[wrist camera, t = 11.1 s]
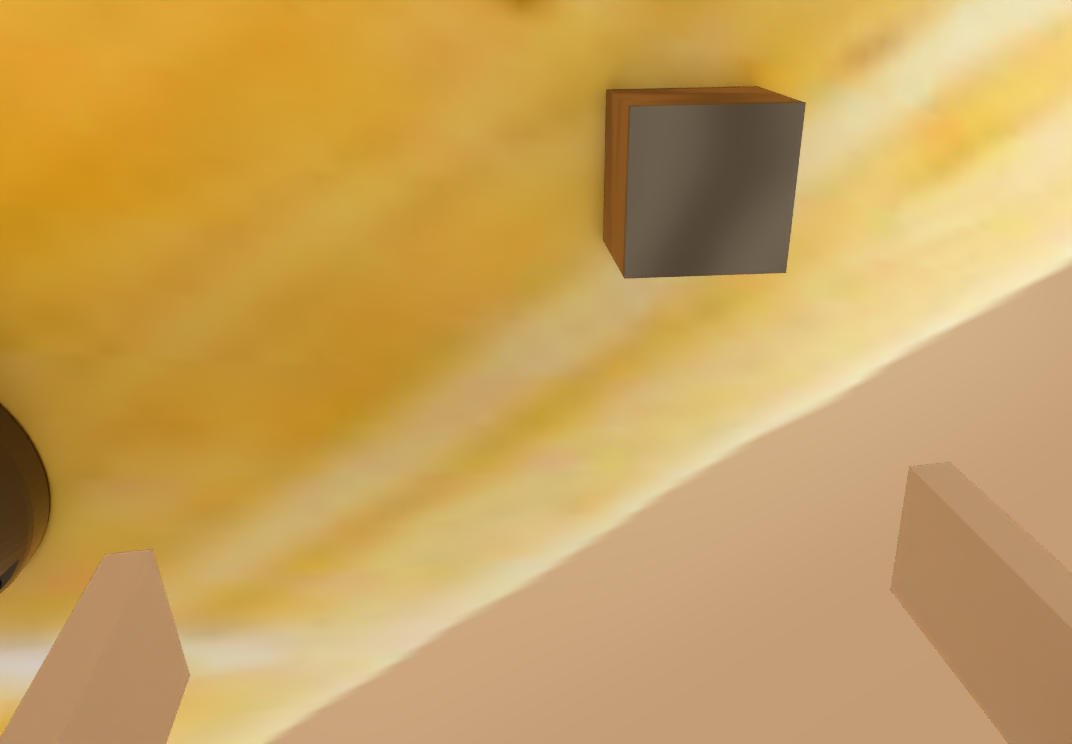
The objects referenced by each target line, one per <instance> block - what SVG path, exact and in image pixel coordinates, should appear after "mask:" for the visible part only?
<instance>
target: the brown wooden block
mask: <svg viewBox="0 0 1072 744" xmlns="http://www.w3.org/2000/svg"><path fill="white" fill-rule="evenodd" d="M805 104H806V103H805V102H802V101H799V100H796V99H793V98H790V97H787V96H784V95H781V94H778V93H775V92H772V91H769V90H766V89H763V88H760V87H712V88H663V89H613V90H606V131H605V175H604V220H603V241H604V243H605V244H606V246H607V248H608V250H609V252H610V253H611V255H612V257H613V259H614V261H615V262H616V264H617V266H618V268H619V270H620V271H621V273H622V275H623V277H624V278H651V277H679V276H708V275H736V274H764V273H786V267H787V259H788V250H789V242H790V233H791V224H792V216H793V207H794V198H795V190H796V181H797V173H798V164H799V155H800V147H801V138H802V130H803V121H804V112H805Z"/></svg>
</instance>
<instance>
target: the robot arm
mask: <svg viewBox="0 0 1072 744" xmlns="http://www.w3.org/2000/svg"><path fill="white" fill-rule="evenodd" d="M48 516H49V491H48V484H47V480H46V476H45V473H44V470H43V467H42V464H41V462H40V460H39V457H38V455H37V453H36V452H35V450H34V448H33V446H32V444H31V443H30V441H29V440H28V438H27V436H26V435H25V434H24V432H23V431H22V430H21V428H20V427H19V426H18V425H17V423H16V422H15V421H14V420H13V419H12V418H11V417H10V416H9V414H8V413H7V412H6V411H5V410H4V409H3V408H1V407H0V593H2V592H3V591H4V590H5V589H6V588H7V587H8V586H9V585H10V584H11V583H12V582H13V580H14V579H15V578H16V577H17V575H18V574H19V573H20V571H21V570H22V569H23V567H24V566H25V565H26V564H27V562H28V561H29V560H30V558H31V557H32V556H33V554H34V553H35V551H36V550H37V548H38V546H39V545H40V543H41V540H42V538H43V536H44V533H45V530H46V527H47V522H48ZM891 591H892V593H893V594H894V595H895V597H896V598H897V599H898V600H899V602H900V603H901V604H902V606H903V607H904V608H905V610H906V611H907V612H908V613H909V615H910V616H911V617H912V619H913V620H914V621H915V623H917V625H918V626H919V628H920V629H921V630H922V632H923V633H924V634H925V636H926V637H927V638H928V639H929V641H930V642H931V643H932V645H933V646H934V647H935V649H936V650H937V651H938V653H939V654H940V655H941V656H942V658H943V659H944V660H945V662H946V663H947V664H948V666H949V667H950V668H951V670H952V671H953V672H954V673H955V675H956V676H957V677H958V679H959V680H960V681H961V682H962V684H963V685H964V686H965V688H966V689H967V690H968V692H969V693H970V694H971V696H972V697H973V698H974V699H975V701H976V702H977V703H978V705H979V706H980V707H981V709H982V710H983V711H984V713H985V714H986V715H987V716H988V718H989V719H990V720H991V722H992V723H993V724H994V726H995V727H996V728H997V729H998V731H999V732H1000V733H1001V735H1002V736H1003V737H1004V739H1005V740H1006V741H1007V743H1008V744H1072V573H1071V571H1069V570H1068V569H1067V568H1066V567H1065V566H1064V565H1063V564H1062V563H1061V562H1060V561H1058V560H1057V559H1056V558H1055V557H1054V556H1053V555H1052V554H1051V553H1050V552H1048V551H1047V550H1046V549H1045V548H1044V547H1043V546H1042V545H1041V544H1040V543H1039V542H1037V541H1036V540H1035V539H1034V538H1033V537H1032V536H1031V535H1030V534H1029V533H1028V532H1026V531H1025V530H1024V529H1023V528H1022V527H1021V526H1020V525H1019V524H1018V523H1017V522H1016V521H1014V520H1013V519H1012V518H1011V517H1010V516H1009V515H1008V514H1007V513H1005V512H1004V511H1003V510H1002V509H1001V508H1000V507H999V506H998V505H997V504H996V503H995V502H994V501H992V500H991V499H990V498H989V497H988V496H987V495H986V494H985V493H984V492H983V491H981V490H980V489H979V488H978V487H977V486H976V485H975V484H974V483H973V482H972V481H970V480H969V479H968V478H967V477H966V476H965V475H964V474H963V473H962V472H960V471H959V470H958V469H957V468H956V467H955V466H954V465H953V464H952V463H951V462H945V463H936V464H926V465H917V466H909V471H908V478H907V484H906V491H905V497H904V504H903V511H902V517H901V524H900V530H899V537H898V544H897V551H896V556H895V563H894V570H893V576H892V583H891ZM189 676H190V674H189V671H188V667H187V664H186V661H185V657H184V654H183V650H182V647H181V644H180V640H179V637H178V633H177V630H176V627H175V623H174V620H173V616H172V613H171V610H170V606H169V603H168V599H167V596H166V593H165V589H164V586H163V582H162V579H161V575H160V572H159V569H158V565H157V562H156V558H155V555H154V552H153V549H149V550H140V551H131V552H122V553H113V554H105V555H104V557H103V559H102V560H101V562H100V564H99V566H98V567H97V569H96V571H95V573H94V574H93V576H92V578H91V580H90V581H89V583H88V585H87V587H86V588H85V590H84V592H83V594H82V596H81V597H80V599H79V601H78V603H77V604H76V606H75V608H74V610H73V611H72V613H71V615H70V617H69V618H68V620H67V622H66V624H65V625H64V627H63V629H62V631H61V632H60V634H59V636H58V638H57V639H56V641H55V643H54V645H53V646H52V648H51V650H50V652H49V653H48V655H47V657H46V659H45V660H44V662H43V664H42V666H41V667H40V669H39V671H38V673H37V674H36V676H35V678H34V680H33V681H32V683H31V685H30V687H29V688H28V690H27V692H26V694H25V695H24V697H23V699H22V701H21V703H20V704H19V706H18V708H17V710H16V711H15V713H14V715H13V717H12V718H11V720H10V722H9V724H8V725H7V727H6V729H5V731H4V732H3V734H2V736H1V738H0V744H166V742H167V739H168V736H169V734H170V731H171V728H172V725H173V722H174V719H175V716H176V713H177V711H178V708H179V705H180V702H181V699H182V696H183V693H184V690H185V687H186V685H187V682H188V679H189Z"/></svg>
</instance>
